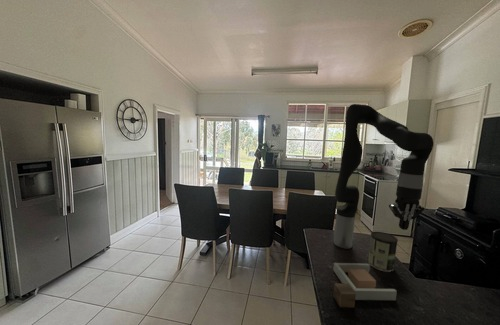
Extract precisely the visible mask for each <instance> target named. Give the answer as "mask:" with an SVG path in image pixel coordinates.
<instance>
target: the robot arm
mask: <svg viewBox="0 0 500 325" xmlns="http://www.w3.org/2000/svg"><path fill="white" fill-rule="evenodd" d="M359 124H360V125H361V124H366V125H369V126H372V127H374V128H375V129H376V131H377V132H378V133H379V134H380V135H381V136H383V137H385V138H387V139H389V140H390V141H392V143H394V144H395V145H396V146H397V147H398V148H400V149H401V150H404V151H406V152H410V154H409V155H408V157H405V158H402V160H401V162H400V163H401V164H400V171H399V175H398V178H397V183H396V184H397V186H396V192H395V195H396V199H395V201H394V203H393V204H388V208H389V209H390V211H391V212H392V213H393V216H394V217H396V218H398V219H399V222H398V227H399V229H400V230H403V231H407V230H408V229H409V227H410V222H411V220H416V219H417V218H418V217H419V215H421V214H422V212H423V211H425V207H423V206H422V205H420V200H421V199H422V192H423V187H424V175H425V168H426V163H427V161H428V159H429V157H430V156H431V153H432V151H433V148H434V139H433V138H434V137H432V136H431V134H429V133H428V132H427V133H426V132H417V131H411V130H409V128H408V127H407V125H404V124H402V123H400V122H398V121H397V120H393V119H391V118H389V117H387V116H385V115H383V114H381V113H380V112H379V111H377V110H376V109H375V108H374V107H372V106H371V105H368V104H360V103H352V104H350V105H349V106H348V108H347V110H346V114H345V128H344V130H345V131H344V141H343V147H342V153H341V161H340V169H339V174H338V178H337V182H336V186H335V190H334V192H335V193H334V197H335V201H337V202H338V203H343V205H342V206H338V207H337V208H336V213H335V214H336V216H335V224H334V229H333V230H334V231H333V244H334V245H335V246H336V247H338V248H341V249H345V250H347V249H351V248H352V247H353V240H354V239H353V238H354V230H355V220H356V214H357V211H358V206H359V200H360V190H359V188H358V187H357V186H355V185H348V181H349V179H350V178H351V176H352V175H353V173H355V171H356V170H357V169H358V168H359V166H360V165H361V164H362V158H363V146H362V143H361V141H360V138H359V136H358V135H359V134H358V128H359V127H358V125H359ZM344 203H345V204H344Z"/></svg>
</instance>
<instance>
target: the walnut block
mask: <svg viewBox="0 0 500 325" xmlns="http://www.w3.org/2000/svg"><path fill="white" fill-rule="evenodd" d="M332 295H333V298H334V300H335V301H336V303H337V305H338V306H339V308H355V305H356V300H355V297H356V294H355V292H354V291H353V290H352V288H351V287H350V286H349V284H343V283H337V282H335V283H334V284H333V294H332Z"/></svg>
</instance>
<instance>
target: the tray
mask: <svg viewBox="0 0 500 325" xmlns="http://www.w3.org/2000/svg"><path fill="white" fill-rule="evenodd" d="M370 267H371V265H370V264H369V263H360V262H359V263H355V262H354V263H353V262H351V263H350V262H334V263H333V270H332V271H333V272H334V273H335V275H336V276H337V278H338V279H339V280H340V282H341V284H349V286H350V287H351V288H352V290H353V291H354V292H355V294H356V297H355V301H396V300H397V294H398V293H397V289H395V288H375V289H367V288H356V287H355V286H354V284H353V283H352V282H351V281H350V279H349V278H348V274H346V273H348V270H349V269H365V270H366V271H367V272H368V273H369V274H370V269H371V268H370Z"/></svg>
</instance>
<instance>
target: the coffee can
mask: <svg viewBox="0 0 500 325" xmlns="http://www.w3.org/2000/svg"><path fill="white" fill-rule="evenodd" d="M397 245H398V238H397V237H396V236H394V235H392V234H390V233H388V232H383V231H372V232H371V233H370V243H369V250H368V251H369V252H368V258H367V259H368V261H367V264H369V265H370V267H372V268H374V269H376V270H378V271H382V272H385V273H390V272H391V271H392V272H393V271H394V270H395V262H396V255H397V254H396V253H397Z"/></svg>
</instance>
